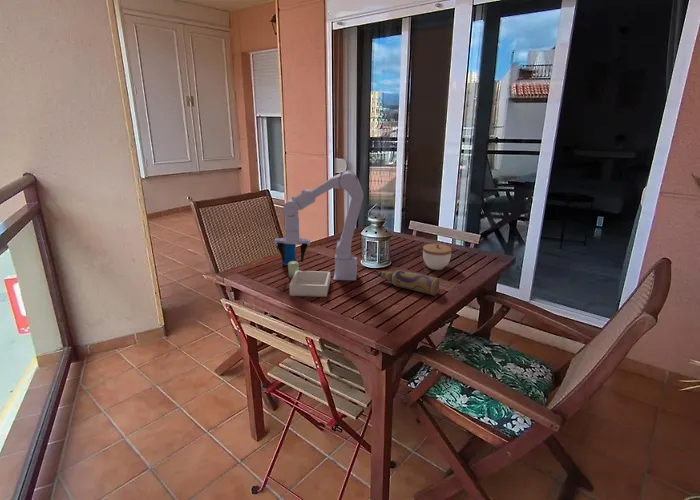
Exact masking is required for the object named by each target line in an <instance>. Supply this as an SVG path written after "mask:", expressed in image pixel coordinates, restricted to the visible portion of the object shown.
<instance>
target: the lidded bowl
mask: <svg viewBox="0 0 700 500" xmlns="http://www.w3.org/2000/svg"><path fill="white" fill-rule="evenodd" d="M452 252H453V249H452V247H450V245H449V246H448V245H447V244H442V243H439V242H438V243H428V244H425V245H423V247H422V258H423V259H422V260H423V262H424V264H425V265H426V266H427V268H429V269H431V270H434V271H435V270H436V271H440V270H443V269H444V268H445V267H447V266H448V265H449V263H450V260H451V257H452Z"/></svg>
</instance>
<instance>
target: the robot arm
mask: <svg viewBox="0 0 700 500" xmlns="http://www.w3.org/2000/svg"><path fill="white" fill-rule="evenodd" d="M341 188H342V189H343V190H345V191H346V192H347V193H348V195H349V197H350V198H351V199H350V201H349V202H350V203H349V206H348V209H347V213H346V217H345V221H344V225H343V229H342V233H341V235H340V238H339V240H337V242H336V249H335V255H334V275H333V278H332V280H334V281H335V280H336V281H357V275H358V257H357V256H353V254H352V242H353V237H354V233H355V229H356V226H357V222H358V220H359V215H360V212H361V207H362V204H363V200H364V191H363V189H362V185H361V183H360V181H359V177H358V176H357V175H356V173H355V172H354V171H353V170H349V169H347V170H344V171H343V172H342V173H341V172H340V173H338V174H335V175H334V176H332V177H330V178H329V179H327V180H326V181H324V182H322V183H321V184H320V185H318V186H317V187H315V188H314V189H302V190H301V191H300V193H299V194H297V195H296V196H292V197H290V199H288V200H286V202H285V204H284V205H283V207H282V210H283V213H284V235H285V236H284V237H285V238H283V237H281V238H279V237H278V238H275V239H274V245H276V248H277V249H278V252H279V253H280V256H281V261H282V260H283V261H285V244H296V245H300V262H302V263H304V258H305V253H306V250H307V248H308V246H310V245H311V239H308V238H307V239H306V238H302V237H301V238H300V217H299V211H301V210H304V209H306V208H307V207H309V206H310V205H312V204H314V203H315V202H316V198H318V197H319V196H321V195H323V194H325V193H327V192H328V191H330V190H332V189H337V190H338V189H339V190H340V189H341Z"/></svg>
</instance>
